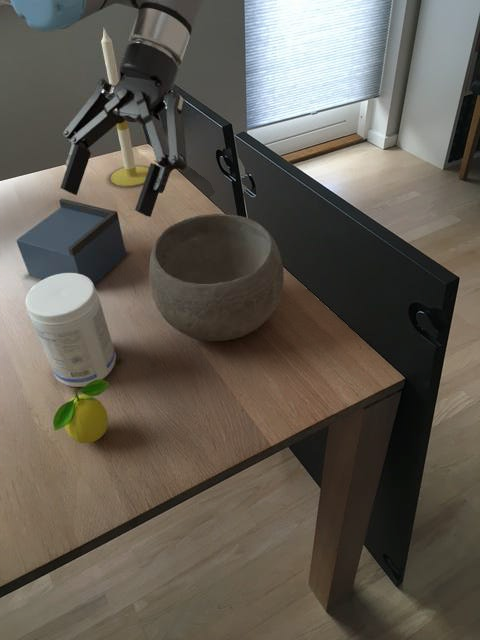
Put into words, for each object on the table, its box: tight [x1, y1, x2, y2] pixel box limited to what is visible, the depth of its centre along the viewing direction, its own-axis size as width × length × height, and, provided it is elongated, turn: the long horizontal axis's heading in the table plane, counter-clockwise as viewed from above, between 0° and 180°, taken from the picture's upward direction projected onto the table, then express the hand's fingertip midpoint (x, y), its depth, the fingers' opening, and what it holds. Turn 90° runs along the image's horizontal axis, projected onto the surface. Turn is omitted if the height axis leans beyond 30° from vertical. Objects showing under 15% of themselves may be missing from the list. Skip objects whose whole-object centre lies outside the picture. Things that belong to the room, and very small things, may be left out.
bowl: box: [148, 213, 285, 342], centre depth 85 cm, size 21×21×15 cm
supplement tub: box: [25, 273, 117, 388], centre depth 78 cm, size 10×10×15 cm
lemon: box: [52, 379, 109, 444], centre depth 70 cm, size 7×6×10 cm
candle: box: [100, 28, 149, 188], centre depth 118 cm, size 10×10×32 cm
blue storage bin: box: [15, 197, 127, 285], centre depth 100 cm, size 13×13×10 cm
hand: (104, 202), depth 75 cm, fingers open, 13 cm apart
